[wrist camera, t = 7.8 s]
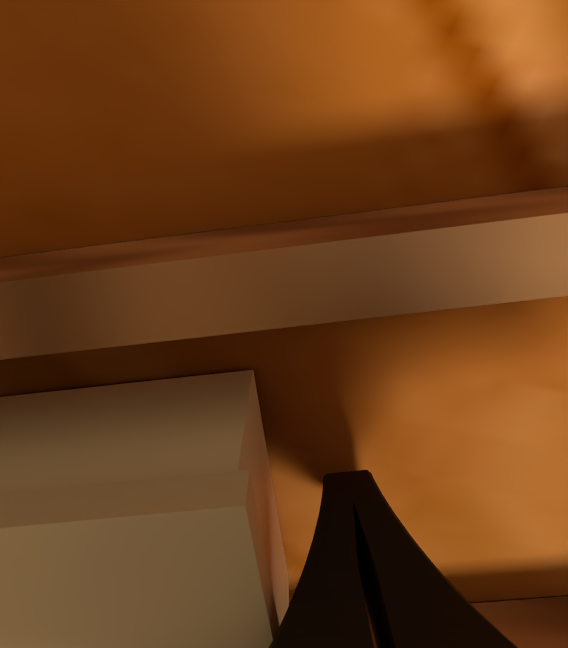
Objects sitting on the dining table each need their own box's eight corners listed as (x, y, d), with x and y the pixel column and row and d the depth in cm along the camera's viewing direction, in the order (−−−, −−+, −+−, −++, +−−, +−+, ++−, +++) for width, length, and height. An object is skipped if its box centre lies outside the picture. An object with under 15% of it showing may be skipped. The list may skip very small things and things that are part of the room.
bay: (35, 663, 17) (-37, 811, 13) (-171, 278, 11) (-410, 345, 7) (753, 610, 15) (905, 758, 11) (951, 138, 9) (1381, 128, 6)
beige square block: (54, 603, 15) (-53, 812, 10) (-46, 392, 12) (-269, 552, 7) (298, 583, 15) (304, 792, 10) (262, 358, 11) (245, 505, 7)
